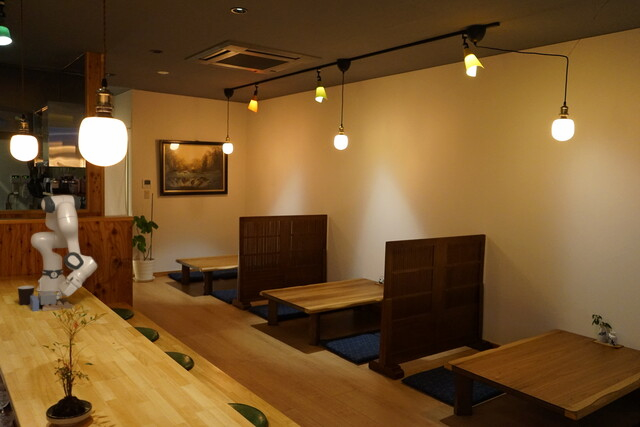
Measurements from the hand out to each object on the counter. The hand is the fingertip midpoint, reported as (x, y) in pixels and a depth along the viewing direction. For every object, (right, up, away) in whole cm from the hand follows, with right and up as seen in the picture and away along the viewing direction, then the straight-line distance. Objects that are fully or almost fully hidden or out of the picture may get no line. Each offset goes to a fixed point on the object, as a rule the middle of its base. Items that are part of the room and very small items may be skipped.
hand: (56, 298), depth 294 cm
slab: (-4, -2, -3) cm, 5 cm away
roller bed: (-1, -5, 0) cm, 5 cm away
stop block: (-9, -5, -6) cm, 12 cm away
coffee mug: (-19, -4, +4) cm, 20 cm away
